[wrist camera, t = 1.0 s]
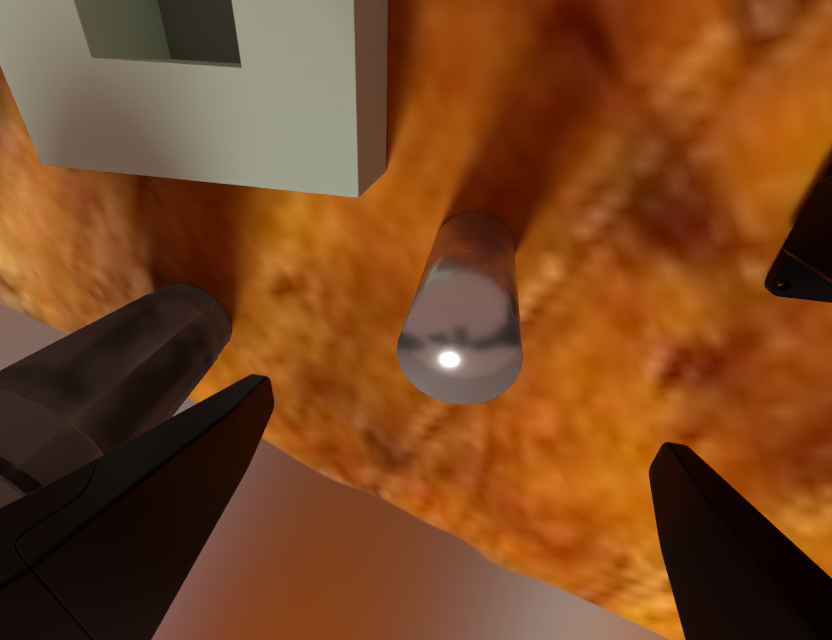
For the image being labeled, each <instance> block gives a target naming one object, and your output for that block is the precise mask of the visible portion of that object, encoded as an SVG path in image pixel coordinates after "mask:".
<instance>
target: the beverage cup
mask: <svg viewBox="0 0 832 640" xmlns="http://www.w3.org/2000/svg"><path fill="white" fill-rule="evenodd" d="M231 333H232V330H231V323H230V320H229V318H228V316H227V314H226V312H225V310H224V309H223V308H222V306H221V305H220V304H219V303H218V301H217V300H216V299H214V298H213V297H212V296H210V295H209V294H208V293H207V292H205V291H203V290H201V289H199V288H197V287H195V286H193V285H188V284H183V283H176V284H169V285H167V286H166V287H164V288H162V289H160V290H158V291H156V292H154V293H152V294H148V295H145V296H143V297H141V298H139V299H137V300H135V301H133V302H131V303H129V304H128V305H126V306H124V307H122V308H120V309H118V310H116V311H114V312H112V313H110V314H108V315H106V316H104V317H103V318H101V319H99V320H97V321H95V322H93V323H91V324H89V325H87V326H85V327H83V328H81V329H79V330H78V331H76V332H74V333H72V334H70V335H68V336H66V337H64V338H62V339H60V340H59V341H56V342H55V343H53V344H51V345H49V346H47V347H45V348H43V349H41V350H39V351H37V352H35V353H33V354H31V355H29V356H28V357H26V358H24V359H22V360H20V361H18V362H16V363H14V364H12V365H10V366H8V367H7V368H4V369H3V370H1V371H0V507H2V506H4V505H7V504H9V503H11V502H13V501H15V500H17V499H19V498H21V497H23V496H25V495H27V494H29V493H31V492H33V491H35V490H37V489H39V488H41V487H43V486H46V485H47V484H49V483H51V482H53V481H55V480H57V479H59V478H61V477H63V476H65V475H66V474H68V473H70V472H72V471H74V470H76V469H78V468H80V467H82V466H83V465H85V464H87V463H89V462H91V461H93V460H94V459H99V457H100V456H102V455H104V454H106V453H107V452H109V451H111V450H113V449H115V448H117V447H119V446H120V445H122V444H124V443H126V442H128V441H130V440H131V439H133V438H135V437H137V436H139V435H141V434H142V433H144V432H146V431H148V430H150V429H152V428H153V427H155V426H157V425H159V424H161V423H163V422H164V421H166V420H168V419H170V418H172V417H173V415H174V414H175V413H176V411H177V410H178V409H179V407H180V406H181V405H182V404H183V402H184V401H185V400H186V398H187V397H188V396H189V395H190V393H191V392H192V391H193V389H194V388H195V387H196V385H197V384H198V383H199V382H200V380H201V379H202V378H203V376H204V375H205V374H206V373H207V371H208V370H209V369H210V367H211V366H212V365H213V363H214V362H215V361H216V360H217V357H218V355H219V354H220V352H221V351H222V349H223V348H224V346H225V345H226V344H227V343H228V342H229V341H230V337H231Z"/></svg>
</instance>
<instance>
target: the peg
mask: <svg viewBox="0 0 832 640" xmlns="http://www.w3.org/2000/svg"><path fill="white" fill-rule="evenodd" d="M397 354H398V360H399V363H400V366H401V369H402V370H403V372H404V374H405V375H406V377H407V378H408V380H409V381H410V382H411V383H412V384H413V385H414V386H415V387H416V388H418V389H419V390H420V391H422V392H423V393H425V394H427V395H428V396H430V397H433V398H435V399H437V400H440V401H444V402H448V403H453V404H475V403H481V402H485V401H488V400H491V399H493V398H495V397H497V396H499V395H500V394H502V393H503V392H505V391H506V390H507V389H508V388H509V387H510V386H511V385H512V384H513V383H514V382H515V380H516V379H517V377H518V375H519V373H520V370H521V367H522V361H523V353H522V341H521V328H520V316H519V304H518V291H517V279H516V267H515V254H514V243H513V238H512V235H511V233H510V231H509V229H508V228H507V226H506V225H505V224H504V223H503V222H502V221H501V220H500V219H499V218H497V217H496V216H494V215H492V214H490V213H487V212H483V211H465V212H461V213H459V214H456V215H454V216H452V217H451V218H450V219H448V220H447V221H446V222H445V223H444V224H443V225H442V226H441V228H440V229H439V231H438V233H437V235H436V238H435V241H434V244H433V246H432V249H431V252H430V254H429V257H428V260H427V263H426V265H425V268H424V271H423V274H422V276H421V279H420V282H419V285H418V287H417V290H416V293H415V296H414V298H413V301H412V304H411V307H410V309H409V312H408V315H407V318H406V320H405V323H404V326H403V329H402V331H401V334H400V337H399V341H398V347H397Z"/></svg>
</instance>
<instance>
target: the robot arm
mask: <svg viewBox="0 0 832 640" xmlns="http://www.w3.org/2000/svg"><path fill="white" fill-rule="evenodd" d="M783 280H787V281H786V282H785V283H784V284H783V285H781V286H778V284H779V283H780V282H781V281H783ZM764 284H765V288H766V289H767V290H768V291H770V292H771V293H772V294H773V295H776V296H780V297H788V298H797V299H805V300H814V301H822V302H831V303H832V164H831V165H830V167H829V169H828V171H827V172H826V174H825V176H824V178H823V179H822V181H821V182H819V183H818V185H817V186H816V188H815V190H814V192H813V194H812V195H811V197H810V199H809V201H808V202H807V204H806V206H805V208H804V209H803V211H802V213H801V215H800V216H799V218H798V220H797V222H796V224H795V225H794V227H793V229H792V231H791V232H790V234H789V236H788V238H787V239H786V241H785V243H784V245H783V250H782V252H781V253H780V255H779V257H778V259H777V260H776V262H775V264H774V266H773V267H772V269H771V271H770V273H769V274H768V276H767V278H766V280H765V283H764ZM273 408H274V397H273V392H272V386H271V381H270V379H269V377H267V376H262V375H256V374H252V375H249V376H247V377H245V378H244V379H242V380H240V381H238V382H236V383H234V384H232V385H231V386H229V387H227V388H225V389H223V390H221V391H220V392H218V393H216V394H214V395H212V396H210V397H209V398H207V399H205V400H203V401H201V402H199V403H198V404H196V405H194V406H192V407H190V408H188V409H187V410H185V411H183V412H181V413H179V414H177V415H176V416H174V417H172V418H170V419H168V420H166V421H164V422H163V423H161V424H159V425H157V426H155V427H153V428H152V429H150V430H148V431H146V432H144V433H142V434H141V435H139V436H137V437H135V438H133V439H131V440H130V441H128V442H126V443H124V444H122V445H120V446H119V447H117V448H115V449H113V450H111V451H109V452H107V453H106V454H104V455H102V456H100V457H99V459H94V460H93V461H91V462H89V463H87V464H85V465H83V466H82V467H80V468H78V469H76V470H74V471H72V472H70V473H68V474H66V475H65V476H63V477H61V478H59V479H57V480H55V481H53V482H51V483H49V484H47V485H46V486H43V487H41V488H39V489H37V490H35V491H33V492H31V493H29V494H27V495H25V496H23V497H21V498H19V499H17V500H15V501H13V502H11V503H9V504H7V505H4V506H2V507H0V640H151V639H152V637H153V636H154V634H155V632H156V630H157V629H158V627H159V625H160V623H161V621H162V620H163V618H164V616H165V614H166V613H167V611H168V609H169V607H170V605H171V604H172V602H173V600H174V598H175V597H176V595H177V593H178V591H179V590H180V588H181V586H182V584H183V582H184V581H185V579H186V577H187V575H188V574H189V572H190V570H191V568H192V566H193V565H194V563H195V561H196V559H197V557H198V556H199V554H200V552H201V551H202V549H203V547H204V545H205V543H206V542H207V540H208V538H209V536H210V534H211V533H212V531H213V529H214V528H215V526H216V524H217V522H218V520H219V519H220V517H221V515H222V513H223V512H224V510H225V508H226V506H227V504H228V503H229V501H230V499H231V497H232V496H233V494H234V492H235V490H236V489H237V487H238V485H239V483H240V481H241V480H242V478H243V476H244V474H245V472H246V470H247V468H248V467H249V465H250V462H251V460H252V458H253V456H254V453H255V451H256V449H257V446H258V444H259V441H260V440H261V437H262V435H263V433H264V430H265V428H266V426H267V423H268V421H269V419H270V416H271V414H272V412H273ZM649 479H650V486H651V492H652V498H653V505H654V511H655V517H656V524H657V530H658V536H659V541H660V547H661V551H662V555H663V559H664V563H665V566H666V570H667V573H668V577H669V581H670V584H671V588H672V592H673V595H674V599H675V603H676V606H677V610H678V614H679V617H680V621H681V625H682V628H683V632H684V636H685V639H686V640H832V578H831V577H830V576H829V575H827V574H826V573H825V572H824V571H823V570H822V569H821V568H820V567H819V566H818V565H817V564H815V563H814V562H813V561H812V560H811V559H810V558H809V557H808V556H807V555H806V554H805V553H803V552H802V551H801V550H800V549H799V548H798V547H797V546H796V545H795V544H794V543H793V542H792V541H790V540H789V539H788V538H787V537H786V536H785V535H784V534H783V533H782V532H781V531H780V530H778V529H777V528H776V527H775V526H774V525H773V524H772V523H771V522H770V521H769V520H768V519H766V518H765V517H764V516H763V515H762V514H761V513H760V512H759V511H758V510H757V509H756V508H755V507H753V506H752V505H751V504H750V503H749V502H748V501H747V500H746V499H745V498H744V497H743V496H741V495H740V494H739V493H738V492H737V491H736V490H735V489H734V488H733V487H732V486H731V485H729V484H728V483H727V482H726V481H725V480H724V479H723V478H722V477H721V476H720V475H719V474H718V473H716V472H715V471H714V470H713V469H712V468H711V467H710V466H709V465H708V464H707V463H706V462H704V461H703V460H702V459H701V458H700V457H699V456H698V455H697V454H696V453H695V452H694V451H692V450H691V449H690V448H689V447H688V446H686V445H683V444H677V443H671V442H666V443H664V444H662V446H661V447H660V449H659V451H658V453H657V455H656V457H655V458H654V460H653V462H652V464H651V466H650V469H649Z"/></svg>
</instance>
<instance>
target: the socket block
mask: <svg viewBox="0 0 832 640" xmlns="http://www.w3.org/2000/svg"><path fill="white" fill-rule="evenodd" d="M387 47H388V0H0V66H1V68H2V70H3V73H4V75H5V78H6V80H7V82H8V85H9V87H10V90H11V92H12V94H13V97H14V99H15V101H16V104H17V106H18V109H19V111H20V113H21V116H22V118H23V121H24V123H25V125H26V128H27V130H28V133H29V135H30V137H31V140H32V142H33V144H34V147H35V149H36V152H37V154H38V156H39V159H40V161H41V164H42V165H47V166H56V167H66V168H76V169H85V170H95V171H105V172H115V173H124V174H134V175H144V176H154V177H163V178H173V179H183V180H192V181H202V182H212V183H222V184H231V185H241V186H251V187H261V188H270V189H280V190H290V191H299V192H309V193H319V194H329V195H338V196H348V197H360V196H361V195H362V194H363V193H364V192H365V191H366V190H367V189H368V188H369V187H370V186H371V185H372V184H373V183H374V182H375V181H376V180H377V179H378V178H379V177H381V176H382V175H383V174H384V173H385V172H386V130H387Z"/></svg>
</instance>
